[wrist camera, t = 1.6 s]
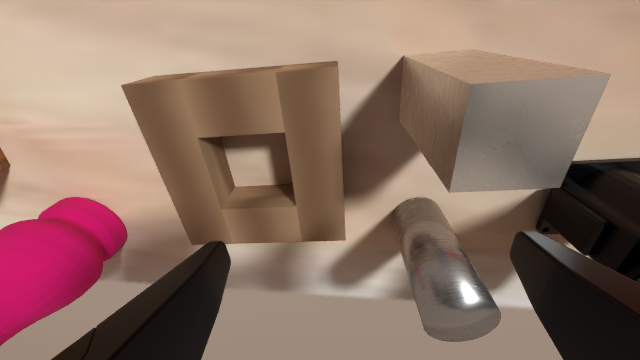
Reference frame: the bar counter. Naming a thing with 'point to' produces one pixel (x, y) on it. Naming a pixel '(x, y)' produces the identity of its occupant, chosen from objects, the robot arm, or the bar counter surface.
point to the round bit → (442, 275)
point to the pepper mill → (53, 260)
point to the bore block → (247, 119)
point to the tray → (3, 161)
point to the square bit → (496, 117)
